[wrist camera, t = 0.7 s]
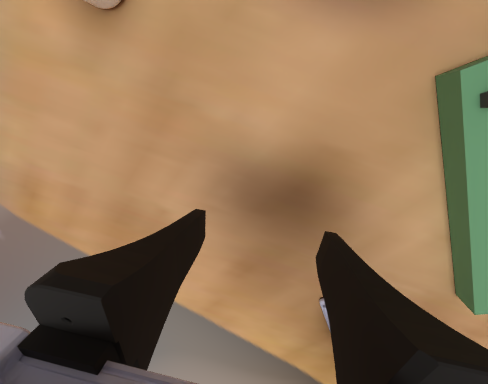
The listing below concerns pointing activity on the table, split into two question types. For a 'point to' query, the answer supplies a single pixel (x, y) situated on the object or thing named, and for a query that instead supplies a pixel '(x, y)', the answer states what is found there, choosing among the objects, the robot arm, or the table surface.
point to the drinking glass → (103, 3)
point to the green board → (467, 176)
